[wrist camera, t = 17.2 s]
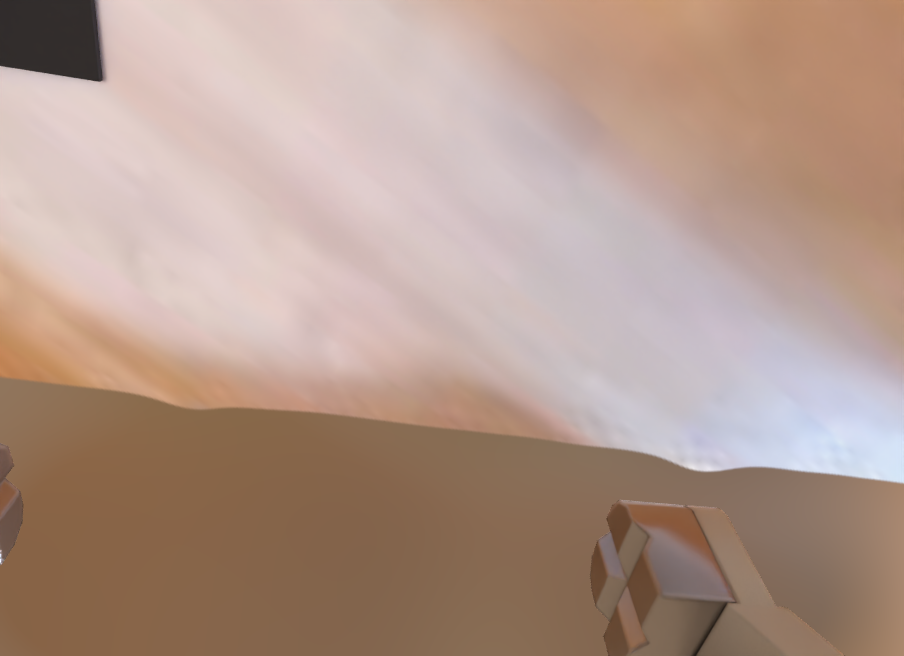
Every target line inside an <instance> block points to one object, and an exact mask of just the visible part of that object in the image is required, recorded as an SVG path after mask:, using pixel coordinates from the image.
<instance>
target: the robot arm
mask: <svg viewBox="0 0 904 656" xmlns="http://www.w3.org/2000/svg"><path fill="white" fill-rule="evenodd" d="M13 467H14V464H13V460H12V457H11V454H10V450H9V447H8V446H6V445H3V444H1V443H0V565H1V564H2V563H3V562H4V560H5V559H6V557H7V555H8V554H9V552H10V551H11V549H12V548H13V546H14V545H15V542H16V539H17V536H18V533H19V530H20V527H21V524H22V518H23V501H22V497H21V493H20V491H19V490H18V489H17V488H16V487H15V486H14V485H13V484H12V483H11V482H9V481H8V480H7V479H6V478H5V477H6V475H7V474H8V473H9V472H10V470H11V469H12V468H13ZM607 522H608V525H609V528H610V532H609V533H608V534H606V535H605V536H603V537H602V538H600V539H599V540H598V541H597V544H596V546H595V549H594V552H593V555H592V561H591V572H590V579H591V589H592V594H593V598H594V602H595V606H596V608H597V609H598V610H599V611H600V612H601V613H602V614H603V615H604V616H605V617H606V618H607V619H608V620H609V622H610V623H609V625H608V627H607V629H606V631H605V633H604V636H603V637H604V641H605V644H606V648H607V652H608V656H845V655H844V654H842V653H841V652H840V651H839V650H837V649H836V648H835V647H834V646H832V645H831V644H830V643H829V642H828V641H827V640H825V639H824V638H823V637H822V636H821V635H819V634H818V633H817V632H816V631H814V630H813V629H812V628H811V627H810V626H808V625H807V624H806V623H805V622H804V621H802V620H801V619H800V618H799V617H798V616H796V615H795V614H794V613H793V612H791V611H790V610H789V609H788V608H785V607H776V605H775V603H774V601H773V599H772V598H771V596H770V594H769V592H768V590H767V588H766V586H765V585H764V583H763V581H762V579H761V577H760V575H759V574H758V572H757V570H756V568H755V566H754V564H753V562H752V561H751V559H750V557H749V555H748V553H747V551H746V549H745V547H744V546H743V544H742V542H741V540H740V538H739V537H738V535H737V533H736V531H735V529H734V527H733V525H732V523H731V522H730V520H729V518H728V516H727V515H726V514H725V513H724V512H723V511H722V510H721V509H720V508H712V507H699V506H687V505H686V506H681V505H673V504H661V503H649V502H637V501H625V500H618V501H617V502H616V503H615V504H614V505H612V507H611V509H610V512H609V514H608V516H607Z"/></svg>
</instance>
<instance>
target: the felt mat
mask: <svg viewBox="0 0 904 656" xmlns="http://www.w3.org/2000/svg"><path fill="white" fill-rule="evenodd" d="M0 66H5V67H11V68H17V69H24V70H30V71H36V72H42V73H49V74H55V75H61V76H67V77H74V78H80V79H86V80H93V81H102V70H101V60H100V51H99V41H98V31H97V22H96V12H95V2H94V0H0Z"/></svg>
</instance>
